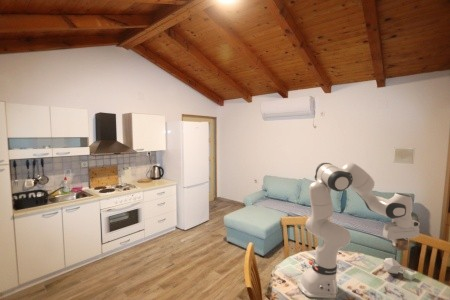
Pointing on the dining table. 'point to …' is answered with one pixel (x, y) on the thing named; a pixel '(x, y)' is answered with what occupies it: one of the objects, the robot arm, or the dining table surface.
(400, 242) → the walnut block
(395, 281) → the dining table surface
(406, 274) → the sage block
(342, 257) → the dining table surface
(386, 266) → the die
